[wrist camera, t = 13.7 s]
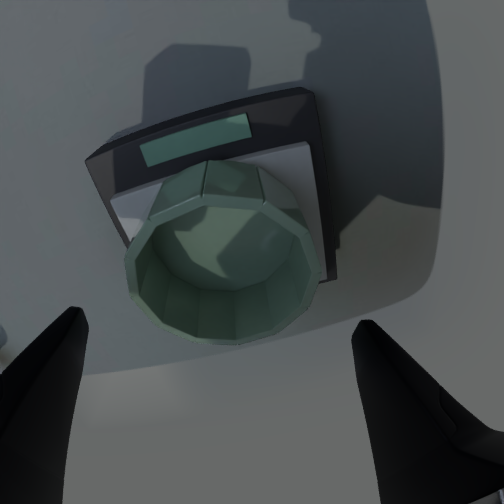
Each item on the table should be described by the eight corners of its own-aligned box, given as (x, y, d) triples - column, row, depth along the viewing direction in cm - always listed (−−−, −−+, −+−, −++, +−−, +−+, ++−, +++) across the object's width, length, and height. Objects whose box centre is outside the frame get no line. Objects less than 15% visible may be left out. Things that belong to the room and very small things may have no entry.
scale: (301, 86, 12) (318, 93, 10) (327, 255, 18) (340, 287, 16) (100, 145, 13) (77, 165, 11) (171, 291, 19) (165, 324, 17)
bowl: (202, 123, 10) (192, 151, 8) (330, 217, 13) (357, 266, 10) (122, 246, 13) (100, 299, 10) (238, 307, 16) (241, 361, 13)
